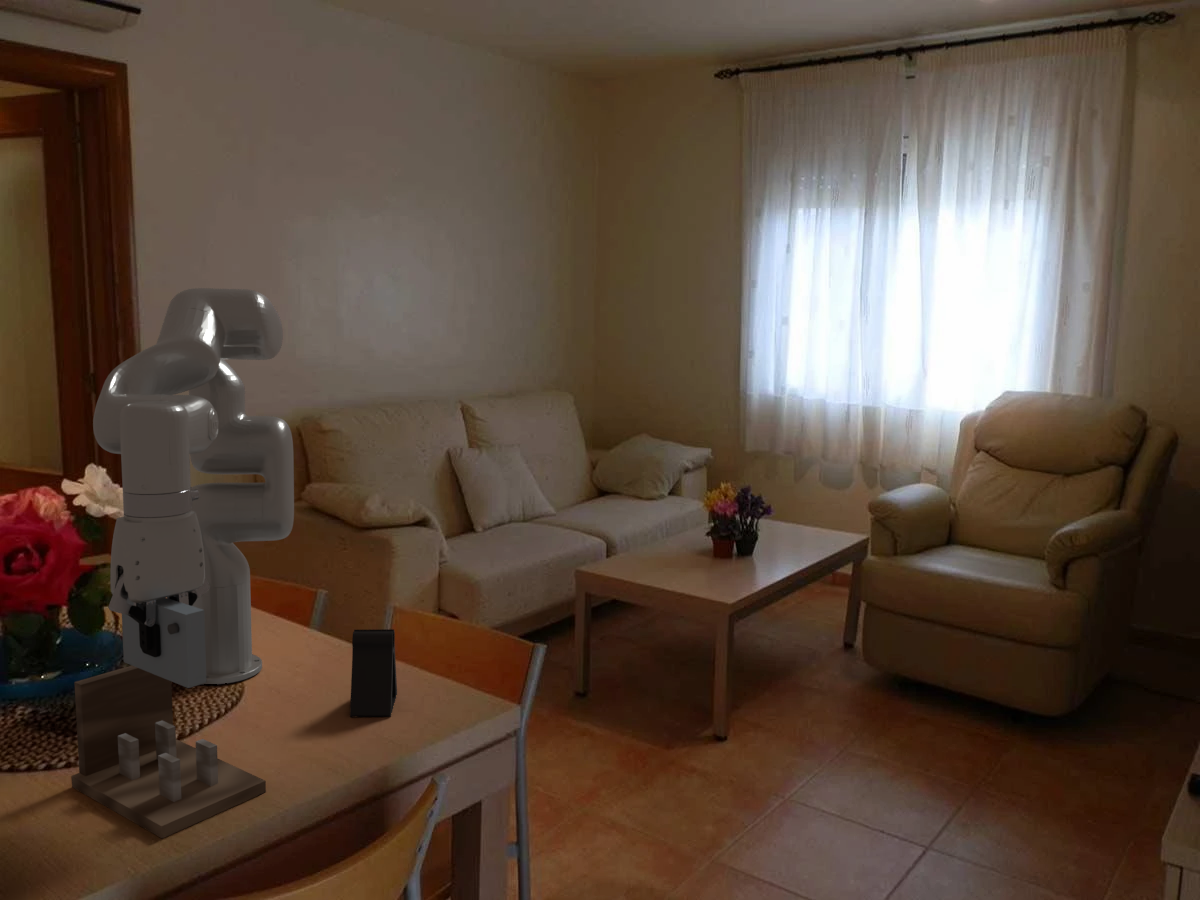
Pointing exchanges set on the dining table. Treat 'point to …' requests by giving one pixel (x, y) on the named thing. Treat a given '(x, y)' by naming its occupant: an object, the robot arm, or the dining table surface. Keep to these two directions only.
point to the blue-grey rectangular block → (170, 643)
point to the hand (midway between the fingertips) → (163, 649)
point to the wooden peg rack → (149, 756)
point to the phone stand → (373, 673)
